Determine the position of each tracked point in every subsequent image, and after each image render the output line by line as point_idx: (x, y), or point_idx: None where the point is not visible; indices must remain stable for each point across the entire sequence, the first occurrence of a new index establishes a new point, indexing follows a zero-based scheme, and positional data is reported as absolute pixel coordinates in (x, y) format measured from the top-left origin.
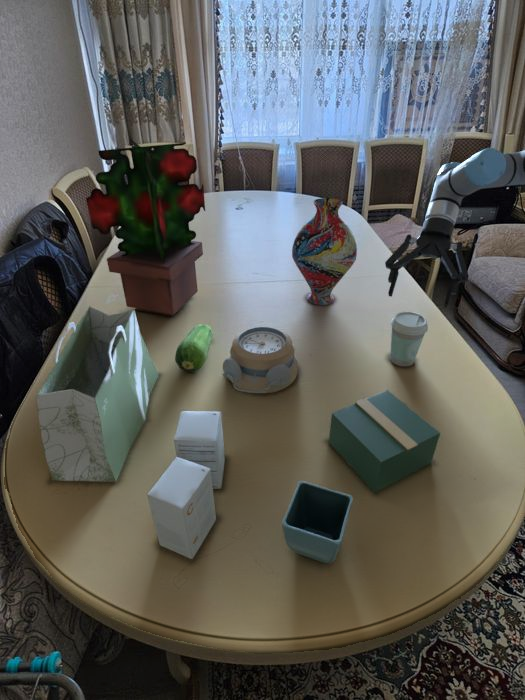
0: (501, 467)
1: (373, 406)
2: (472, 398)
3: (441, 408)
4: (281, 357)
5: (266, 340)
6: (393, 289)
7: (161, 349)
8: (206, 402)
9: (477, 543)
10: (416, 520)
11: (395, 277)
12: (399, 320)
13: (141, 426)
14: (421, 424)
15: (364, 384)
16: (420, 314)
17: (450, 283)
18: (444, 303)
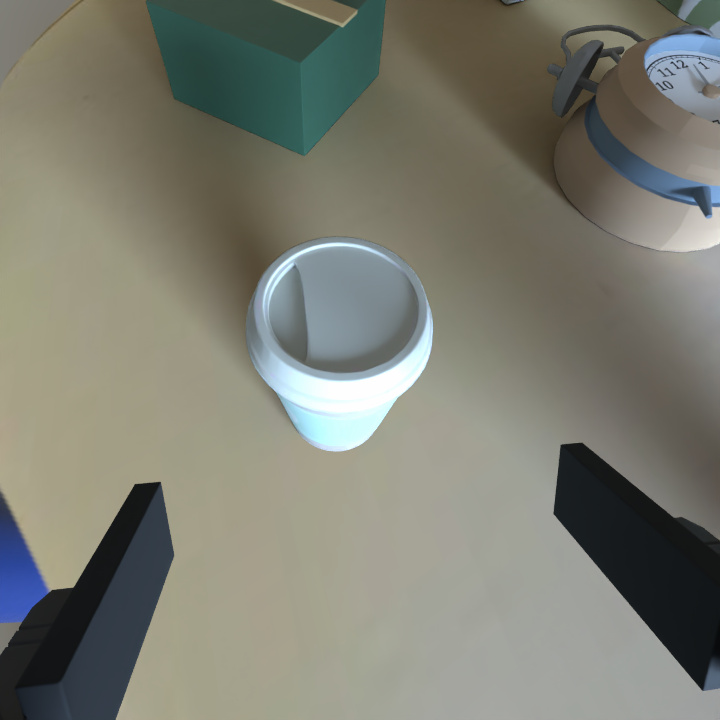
0: (23, 135)
1: (312, 10)
2: (71, 318)
3: (166, 241)
4: (617, 68)
5: (717, 108)
6: (584, 527)
7: None
8: None
9: (89, 13)
10: None
11: (655, 523)
12: (388, 274)
13: (667, 6)
14: (191, 6)
15: (394, 240)
16: (304, 372)
17: (81, 629)
18: (159, 483)
